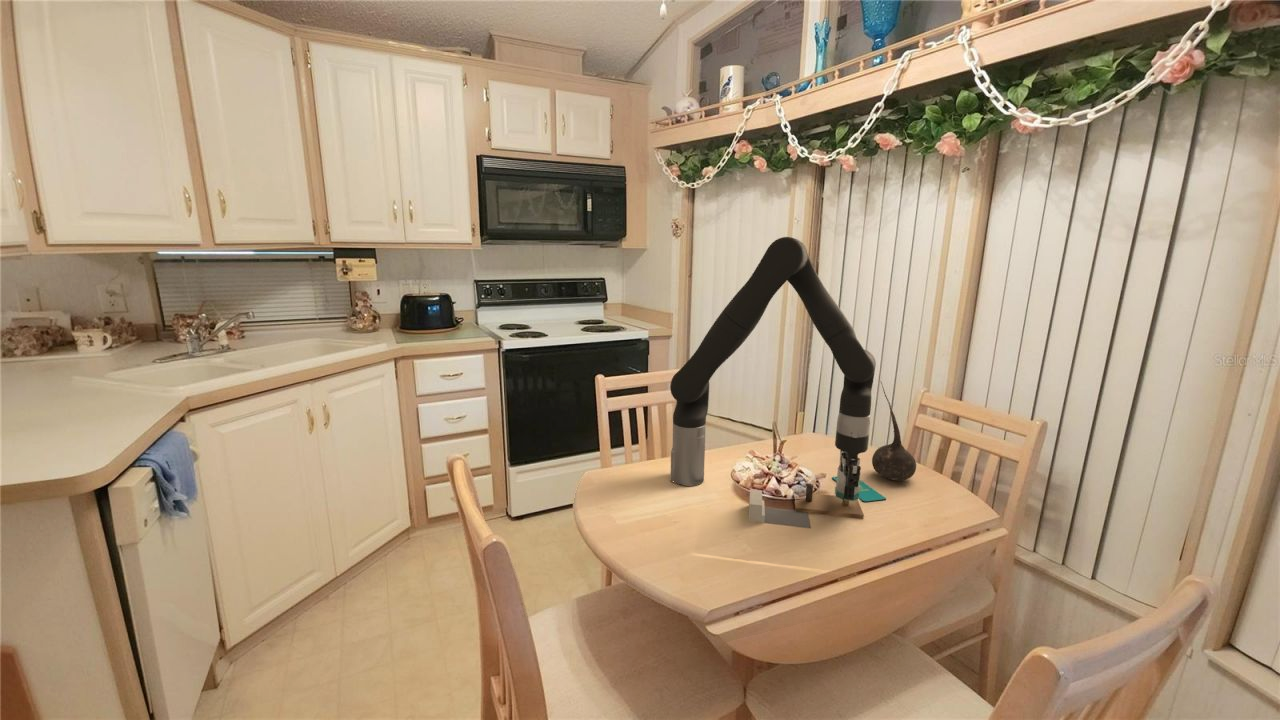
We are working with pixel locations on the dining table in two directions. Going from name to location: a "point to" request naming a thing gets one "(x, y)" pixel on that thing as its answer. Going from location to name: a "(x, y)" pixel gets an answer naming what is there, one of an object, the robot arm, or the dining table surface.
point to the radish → (894, 457)
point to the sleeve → (841, 486)
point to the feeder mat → (774, 513)
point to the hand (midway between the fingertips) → (846, 493)
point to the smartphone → (867, 493)
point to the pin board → (828, 505)
